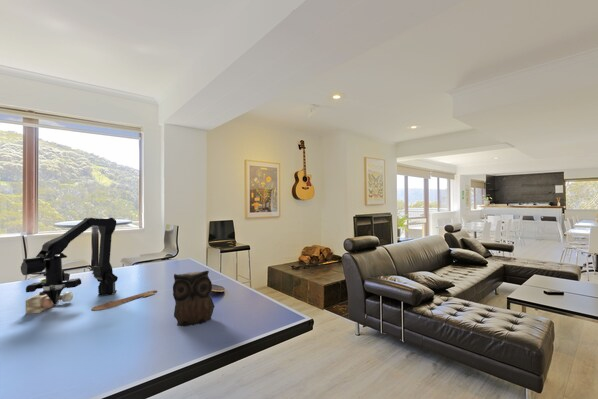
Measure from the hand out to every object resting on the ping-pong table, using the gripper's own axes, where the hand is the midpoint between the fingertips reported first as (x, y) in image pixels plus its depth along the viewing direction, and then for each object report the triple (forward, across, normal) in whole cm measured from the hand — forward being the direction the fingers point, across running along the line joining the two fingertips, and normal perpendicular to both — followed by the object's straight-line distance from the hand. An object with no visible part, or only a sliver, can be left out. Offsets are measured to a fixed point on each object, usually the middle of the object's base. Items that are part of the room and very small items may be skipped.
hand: (55, 304), depth 127 cm
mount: (+2, +7, -4) cm, 8 cm away
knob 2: (+1, +1, -7) cm, 7 cm away
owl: (+5, -62, +29) cm, 69 cm away
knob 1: (+1, +5, 0) cm, 5 cm away
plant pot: (+2, +12, -21) cm, 24 cm away
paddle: (+4, -28, -4) cm, 28 cm away
